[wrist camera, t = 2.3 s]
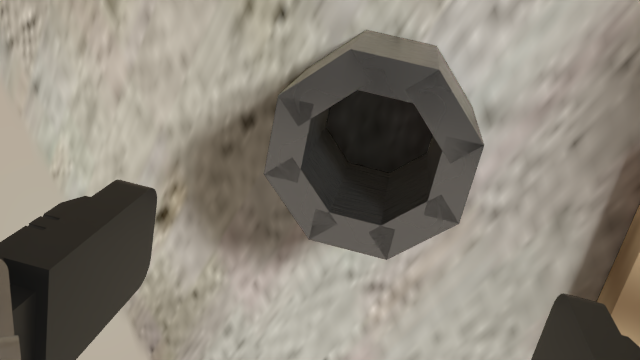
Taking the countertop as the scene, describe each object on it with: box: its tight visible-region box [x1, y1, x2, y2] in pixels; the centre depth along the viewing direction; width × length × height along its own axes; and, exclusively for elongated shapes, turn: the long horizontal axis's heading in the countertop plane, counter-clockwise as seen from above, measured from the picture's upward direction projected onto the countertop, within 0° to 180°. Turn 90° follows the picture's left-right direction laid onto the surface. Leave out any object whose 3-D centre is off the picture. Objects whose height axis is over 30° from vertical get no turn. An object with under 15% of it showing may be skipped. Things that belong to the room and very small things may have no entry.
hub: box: [264, 30, 484, 260], centre depth 20 cm, size 6×6×5 cm
